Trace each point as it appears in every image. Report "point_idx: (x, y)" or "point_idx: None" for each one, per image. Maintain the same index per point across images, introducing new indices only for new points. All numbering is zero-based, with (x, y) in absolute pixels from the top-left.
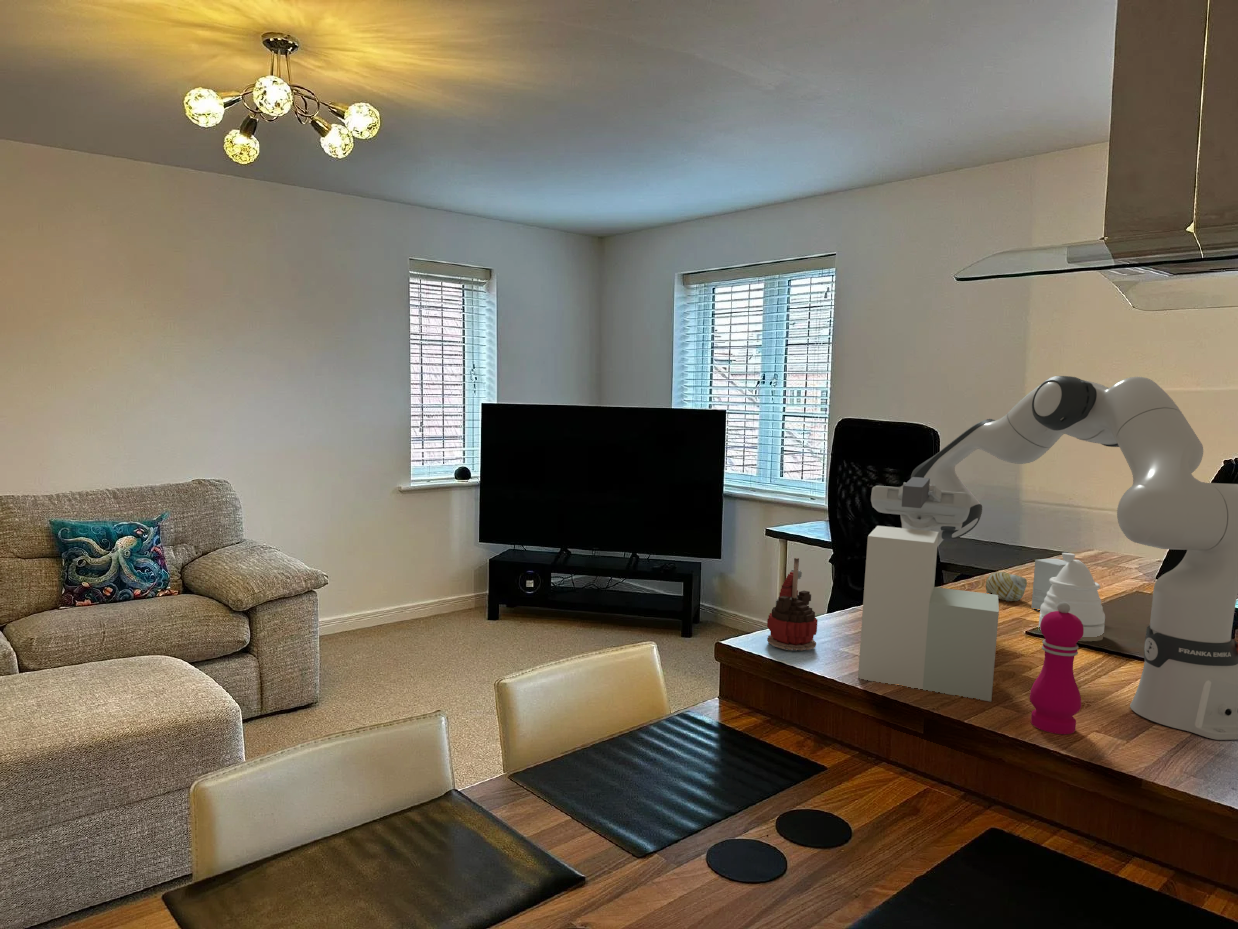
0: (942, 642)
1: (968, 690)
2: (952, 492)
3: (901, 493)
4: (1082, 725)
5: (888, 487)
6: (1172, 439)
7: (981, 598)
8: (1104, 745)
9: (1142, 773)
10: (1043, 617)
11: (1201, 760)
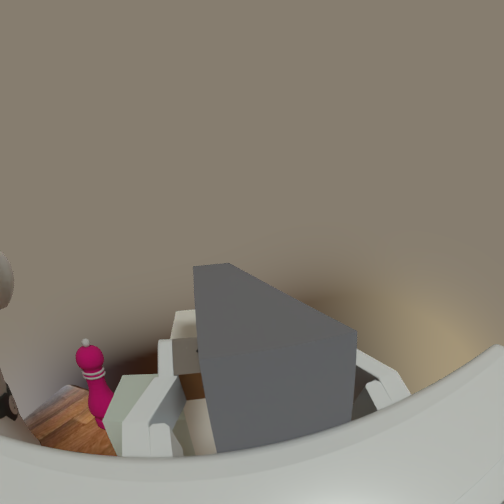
0: None
1: None
2: (48, 447)
3: None
4: (89, 429)
5: (460, 367)
6: None
7: (128, 402)
8: (89, 411)
9: (86, 394)
10: (99, 352)
11: (46, 409)
